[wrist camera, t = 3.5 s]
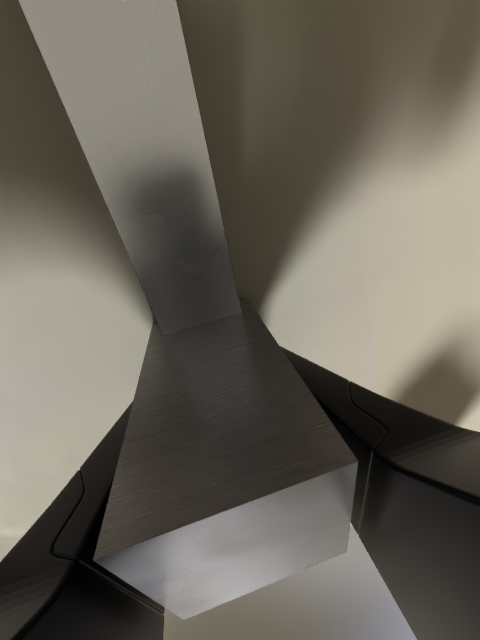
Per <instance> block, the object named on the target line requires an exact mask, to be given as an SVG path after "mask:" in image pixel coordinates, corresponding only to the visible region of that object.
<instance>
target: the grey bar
mask: <svg viewBox="0 0 480 640" xmlns="http://www.w3.org/2000/svg"><path fill="white" fill-rule="evenodd" d="M18 1H19V3H20V5H21V8H22V10H23V12H24V15H25V17H26V19H27V22H28V24H29V26H30V29H31V31H32V33H33V35H34V38H35V40H36V42H37V45H38V47H39V49H40V52H41V54H42V56H43V59H44V61H45V63H46V66H47V68H48V70H49V73H50V75H51V77H52V80H53V82H54V84H55V86H56V89H57V91H58V93H59V96H60V98H61V100H62V103H63V105H64V107H65V110H66V112H67V114H68V117H69V119H70V121H71V124H72V126H73V128H74V130H75V133H76V135H77V137H78V140H79V142H80V144H81V147H82V149H83V151H84V154H85V156H86V158H87V161H88V163H89V165H90V168H91V170H92V172H93V174H94V177H95V179H96V181H97V184H98V186H99V188H100V191H101V193H102V195H103V198H104V200H105V202H106V205H107V207H108V209H109V212H110V214H111V216H112V218H113V221H114V223H115V225H116V228H117V230H118V232H119V235H120V237H121V239H122V242H123V244H124V246H125V249H126V251H127V253H128V256H129V258H130V260H131V262H132V265H133V267H134V269H135V272H136V274H137V276H138V279H139V281H140V283H141V286H142V288H143V290H144V293H145V295H146V297H147V300H148V302H149V304H150V307H151V309H152V311H153V313H154V316H155V318H156V320H157V323H153V325H152V329H151V333H150V337H149V341H148V345H147V349H146V353H145V357H144V361H143V365H142V369H141V373H140V377H139V381H138V385H137V389H136V393H135V396H134V400H133V404H132V408H131V412H130V416H129V420H128V424H127V428H126V432H125V436H124V440H123V444H122V448H121V452H120V456H119V460H118V464H117V468H116V472H115V475H114V479H113V483H112V487H111V491H110V495H109V499H108V503H107V507H106V511H105V515H104V519H103V523H102V527H101V531H100V535H99V539H98V543H97V547H96V550H95V554H94V558H93V561H95V562H96V563H98V564H99V565H101V566H102V567H104V568H105V569H107V570H108V571H110V572H111V573H113V574H115V575H116V576H118V577H119V578H121V579H122V580H124V581H125V582H127V583H128V584H130V585H131V586H133V587H134V588H136V589H137V590H139V591H140V592H142V593H144V594H145V595H147V596H148V597H150V598H151V599H153V600H154V601H156V602H157V603H159V604H160V605H162V606H163V607H165V608H167V609H168V610H170V611H171V612H173V613H174V614H176V615H177V616H179V617H181V618H182V619H183V620H185V619H187V618H190V617H192V616H194V615H197V614H199V613H202V612H204V611H206V610H209V609H211V608H214V607H216V606H218V605H221V604H223V603H226V602H228V601H230V600H233V599H235V598H237V597H240V596H242V595H244V594H247V593H249V592H252V591H254V590H257V589H259V588H261V587H264V586H266V585H269V584H271V583H273V582H276V581H278V580H281V579H283V578H285V577H288V576H290V575H292V574H295V573H297V572H300V571H302V570H305V569H307V568H309V567H312V566H314V565H316V564H319V563H321V562H324V561H326V560H328V559H331V558H333V557H335V556H338V555H340V554H343V553H345V552H347V546H348V538H349V530H350V522H351V515H352V507H353V499H354V491H355V483H356V476H357V468H358V460H357V459H356V457H355V456H354V454H353V453H352V451H351V450H350V449H349V447H348V446H347V444H346V443H345V441H344V440H343V438H342V437H341V435H340V434H339V432H338V431H337V430H336V428H335V427H334V425H333V424H332V422H331V421H330V419H329V418H328V416H327V415H326V413H325V412H324V411H323V409H322V408H321V406H320V405H319V403H318V402H317V400H316V399H315V397H314V396H313V394H312V393H311V392H310V390H309V389H308V387H307V386H306V384H305V383H304V381H303V380H302V378H301V377H300V375H299V374H298V373H297V371H296V370H295V368H294V367H293V365H292V364H291V362H290V361H289V359H288V358H287V356H286V355H285V354H284V352H283V351H282V349H281V348H280V346H279V345H278V343H277V342H276V340H275V339H274V337H273V336H272V335H271V333H270V332H269V330H268V329H267V327H266V326H265V324H264V323H263V321H262V320H261V318H260V317H259V316H258V314H257V313H256V311H255V310H254V308H253V307H252V305H251V304H250V302H249V301H248V299H247V298H245V299H242V300H239V297H238V292H237V288H236V283H235V278H234V273H233V269H232V264H231V259H230V254H229V250H228V245H227V240H226V235H225V231H224V226H223V221H222V216H221V212H220V207H219V202H218V197H217V193H216V188H215V183H214V178H213V174H212V169H211V164H210V159H209V155H208V150H207V145H206V140H205V136H204V131H203V126H202V121H201V117H200V112H199V107H198V102H197V98H196V93H195V88H194V83H193V79H192V74H191V69H190V64H189V60H188V55H187V50H186V45H185V41H184V36H183V31H182V26H181V22H180V17H179V12H178V7H177V3H176V0H18Z"/></svg>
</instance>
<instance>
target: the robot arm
mask: <svg viewBox="0 0 480 640" xmlns="http://www.w3.org/2000/svg"><path fill="white" fill-rule="evenodd" d="M280 348H281V349H282V351H283V352H284V354H285V355H286V356H287V358H288V359H289V361H290V362H291V364H292V365H293V367H294V368H295V370H296V371H297V373H298V374H299V375H300V377H301V378H302V380H303V381H304V383H305V384H306V386H307V387H308V389H309V390H310V392H311V393H312V394H313V396H314V397H315V399H316V400H317V402H318V403H319V405H320V406H321V408H322V409H323V411H324V412H325V413H326V415H327V416H328V418H329V419H330V421H331V422H332V424H333V425H334V427H335V428H336V430H337V431H338V432H339V434H340V435H341V437H342V438H343V440H344V441H345V443H346V444H347V446H348V447H349V449H350V450H351V451H352V453H353V454H354V456H355V457H356V459H357V460H358V468H357V476H356V483H355V491H354V499H353V507H352V515H351V523H352V525H353V527H354V529H355V530H356V532H357V534H359V538H360V539H361V541H362V543H363V545H364V546H365V548H366V550H367V552H368V553H369V555H370V557H371V559H372V561H373V562H374V564H375V566H376V568H377V569H378V571H379V573H380V575H381V576H382V578H383V580H384V582H385V583H386V585H387V587H388V589H389V591H390V592H391V594H392V596H393V598H394V599H395V601H396V603H397V604H398V606H399V608H400V610H401V612H402V613H403V615H404V617H405V619H406V621H407V622H408V624H409V626H410V628H411V629H412V631H413V633H414V635H415V636H416V638H417V640H480V432H477V431H472V430H468V429H465V428H461V427H458V426H455V425H453V424H450V423H447V422H445V421H442V420H440V419H437V418H435V417H432V416H430V415H427V414H425V413H422V412H420V411H417V410H415V409H412V408H410V407H407V406H405V405H402V404H400V403H397V402H395V401H393V400H390V399H388V398H386V397H383V396H381V395H379V394H376V393H374V392H372V391H370V390H368V389H366V388H364V387H361V386H359V385H357V384H355V383H353V382H351V381H350V382H349V380H347V379H345V378H343V377H341V376H339V375H337V374H335V373H333V372H331V371H329V370H327V369H325V368H323V367H321V366H319V365H317V364H315V363H313V362H311V361H309V360H307V359H305V358H303V357H301V356H299V355H297V354H295V353H293V352H291V351H289V350H287V349H285V348H283V347H281V346H280ZM132 404H133V402H132V403H131V404H130V405H129V407H128V408H127V409H126V411H125V412H124V413H123V414H122V416H121V417H120V418H119V419H118V421H117V422H116V423H115V424H114V426H113V427H112V428H111V429H110V431H109V432H108V433H107V435H106V436H105V437H104V438H103V440H102V441H101V442H100V443H99V445H98V446H97V447H96V448H95V450H94V451H93V452H92V454H91V455H90V456H89V457H88V459H87V460H86V461H85V462H84V464H83V465H82V466H81V467H80V470H79V471H77V472H76V474H75V475H74V476H73V477H72V479H71V480H70V481H69V483H68V484H67V485H66V486H65V487H64V489H63V490H62V491H61V492H60V494H59V495H58V496H57V497H56V498H55V500H54V501H53V502H52V503H51V505H50V506H49V507H48V508H47V509H46V510H45V512H44V513H43V514H42V515H41V516H40V517H39V519H38V520H37V521H36V522H35V523H34V524H33V526H32V527H31V528H30V529H29V530H28V531H27V532H26V534H25V535H24V536H23V537H22V538H21V539H20V540H19V542H18V543H17V544H16V545H15V546H14V547H13V548H12V549H11V551H10V552H9V553H8V554H7V555H6V556H5V557H4V559H3V560H2V561H1V562H0V640H163V631H164V615H163V614H164V607H163V606H162V605H160V604H159V603H157V602H156V601H154V600H153V599H151V598H150V597H148V596H147V595H145V594H144V593H142V592H140V591H139V590H137V589H136V588H134V587H133V586H131V585H130V584H128V583H127V582H125V581H124V580H122V579H121V578H119V577H118V576H116V575H115V574H113V573H111V572H110V571H108V570H107V569H105V568H104V567H102V566H101V565H99V564H98V563H96V562H95V561H93V558H94V554H95V550H96V547H97V543H98V539H99V535H100V531H101V527H102V523H103V519H104V515H105V511H106V507H107V503H108V499H109V495H110V491H111V487H112V483H113V479H114V475H115V472H116V468H117V464H118V460H119V456H120V452H121V448H122V444H123V440H124V436H125V432H126V428H127V424H128V420H129V416H130V412H131V408H132Z"/></svg>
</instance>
